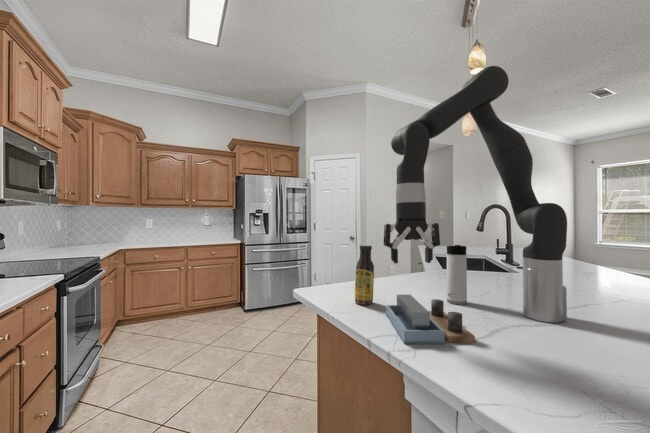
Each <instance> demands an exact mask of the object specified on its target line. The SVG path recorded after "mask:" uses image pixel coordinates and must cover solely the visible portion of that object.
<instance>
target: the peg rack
mask: <svg viewBox="0 0 650 433" xmlns="http://www.w3.org/2000/svg"><path fill="white" fill-rule="evenodd" d="M430 302H431V304H430V305H431V306H430V307H431V310H427V311H428V312H429V313H430V318H431V319H432V320H433V321H434V322H435V323H436V324H437V325H439V326H440V327H441V328H442V329H443V330H444V340H446V341H447V343H449V344H450V343H453V344H454V343H455V344H457V343H459V344H460V343H466V344H469V343H470V344H472V343H476V335H474V333H472V332H471V331H469V330H468V329H466V328H465V327H464V326H463V314H462V313H461V312H457V311H448V312H445V311H444V309H445V308H444V300H441V299H438V298H437V299H436V298H434V299H431V301H430Z"/></svg>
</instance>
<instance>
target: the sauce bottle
mask: <svg viewBox="0 0 650 433" xmlns="http://www.w3.org/2000/svg"><path fill="white" fill-rule="evenodd" d="M372 248H373V247H372V245H370V244H360V245H359V259H358V260H357V263H356V268H355V279H354V280H355V282H354V283H355V284H354V302H355V303H356V304H358V305H361V306H362V305H363V306H369V305H372V304H373V301H374V285H375V284H374V280H375V272H374V271H375V266H374V263H373V260H372Z"/></svg>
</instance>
